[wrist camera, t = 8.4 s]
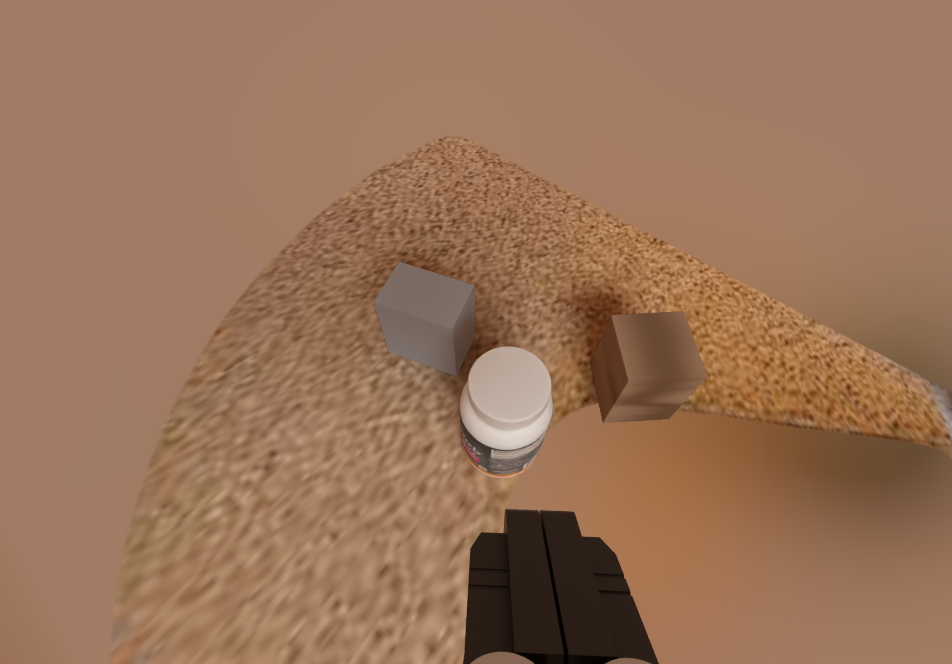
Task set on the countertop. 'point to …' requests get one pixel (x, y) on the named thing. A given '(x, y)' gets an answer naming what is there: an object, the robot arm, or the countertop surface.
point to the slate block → (427, 317)
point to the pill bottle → (505, 411)
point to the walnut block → (645, 366)
